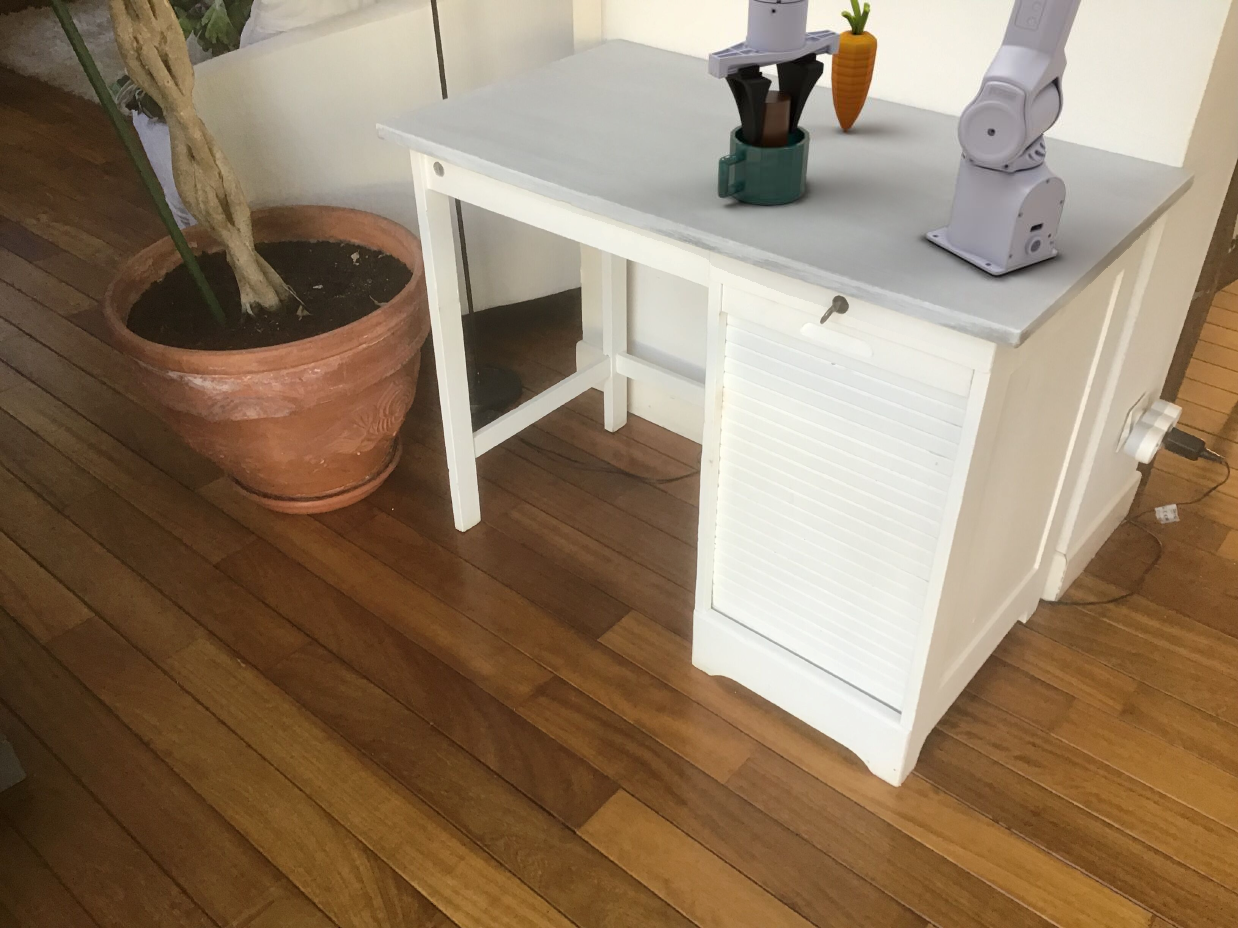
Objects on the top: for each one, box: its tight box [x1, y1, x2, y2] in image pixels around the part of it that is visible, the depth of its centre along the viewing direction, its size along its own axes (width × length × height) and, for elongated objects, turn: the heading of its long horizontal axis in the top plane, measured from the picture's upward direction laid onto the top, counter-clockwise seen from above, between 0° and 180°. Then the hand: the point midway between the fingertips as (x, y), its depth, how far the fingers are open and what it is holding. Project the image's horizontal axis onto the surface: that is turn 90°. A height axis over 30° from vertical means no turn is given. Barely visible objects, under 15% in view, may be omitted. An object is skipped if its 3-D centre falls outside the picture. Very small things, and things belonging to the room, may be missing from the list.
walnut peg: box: [749, 89, 791, 148], centre depth 106 cm, size 4×4×6 cm
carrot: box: [830, 0, 878, 132], centre depth 119 cm, size 5×5×15 cm
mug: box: [717, 125, 811, 206], centre depth 108 cm, size 11×8×6 cm
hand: (769, 135), depth 107 cm, fingers closed on walnut peg, 4 cm apart
